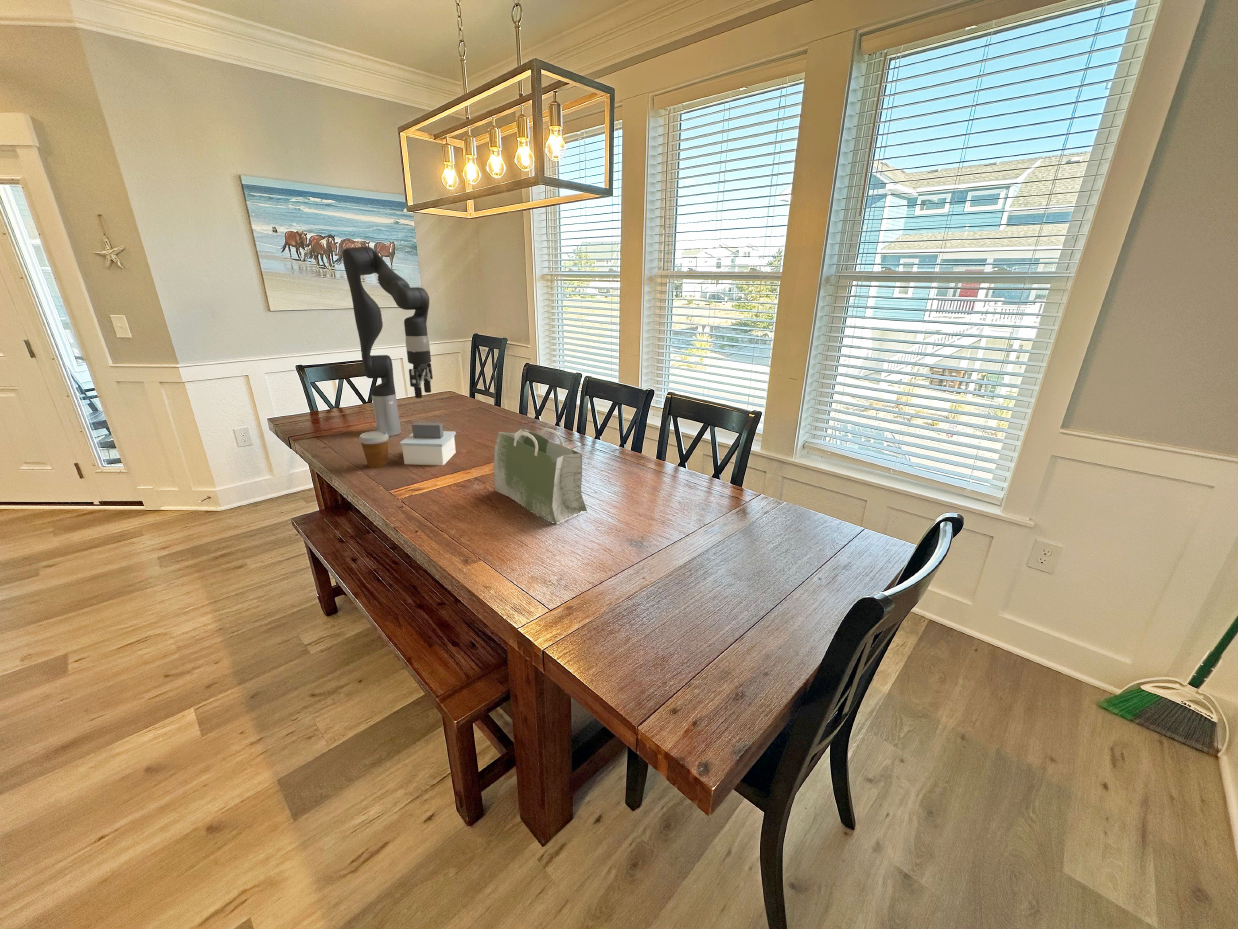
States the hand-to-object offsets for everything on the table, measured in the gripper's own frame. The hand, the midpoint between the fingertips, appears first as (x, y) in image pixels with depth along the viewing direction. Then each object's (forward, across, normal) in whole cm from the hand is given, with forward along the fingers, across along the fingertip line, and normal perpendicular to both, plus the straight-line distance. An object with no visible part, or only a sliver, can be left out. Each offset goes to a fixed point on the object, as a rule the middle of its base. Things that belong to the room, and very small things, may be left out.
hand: (423, 395), depth 173 cm
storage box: (+25, 0, 0) cm, 25 cm away
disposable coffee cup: (+25, +8, -16) cm, 31 cm away
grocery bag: (+25, +32, +46) cm, 61 cm away
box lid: (+17, 0, 0) cm, 17 cm away
